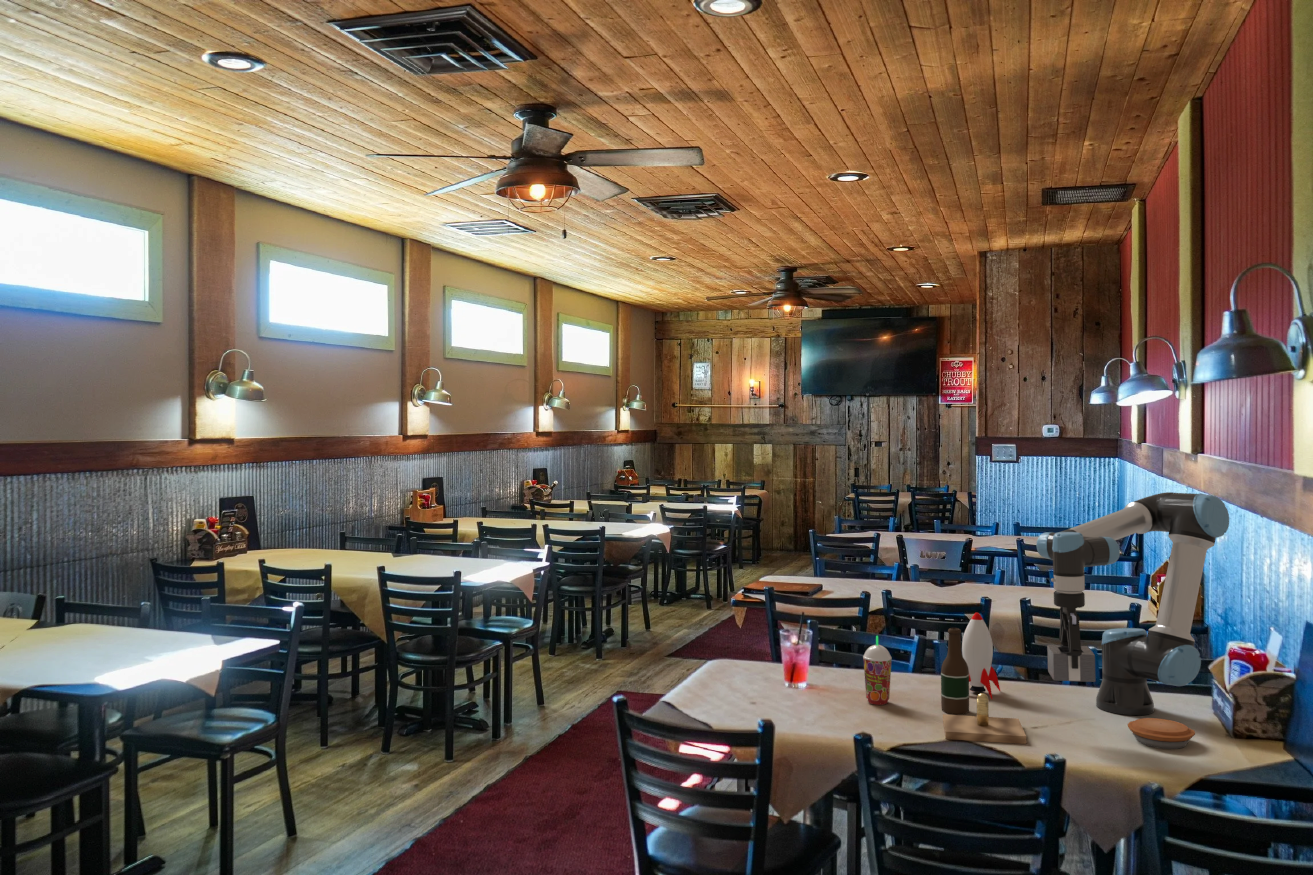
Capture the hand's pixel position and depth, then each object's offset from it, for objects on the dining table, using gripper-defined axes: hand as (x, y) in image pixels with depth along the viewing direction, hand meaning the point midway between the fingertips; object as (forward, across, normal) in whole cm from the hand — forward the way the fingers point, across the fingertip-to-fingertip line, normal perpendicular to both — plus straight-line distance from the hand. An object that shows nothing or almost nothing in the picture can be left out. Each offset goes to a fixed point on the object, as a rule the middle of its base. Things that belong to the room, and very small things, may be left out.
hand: (1070, 675), depth 254 cm
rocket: (+17, -41, -20) cm, 49 cm away
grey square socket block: (0, 0, 0) cm, 0 cm away
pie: (+17, -1, +22) cm, 28 cm away
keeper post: (+14, 0, -22) cm, 27 cm away
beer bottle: (+17, -19, -28) cm, 38 cm away
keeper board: (+16, 0, -22) cm, 28 cm away
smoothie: (+16, -24, -50) cm, 58 cm away
